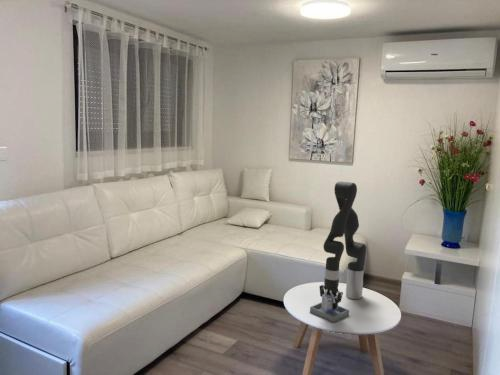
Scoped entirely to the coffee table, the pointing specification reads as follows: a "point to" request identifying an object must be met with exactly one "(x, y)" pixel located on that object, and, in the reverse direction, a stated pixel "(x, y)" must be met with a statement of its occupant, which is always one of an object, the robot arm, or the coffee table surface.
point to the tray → (329, 313)
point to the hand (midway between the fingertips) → (329, 306)
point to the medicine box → (328, 303)
